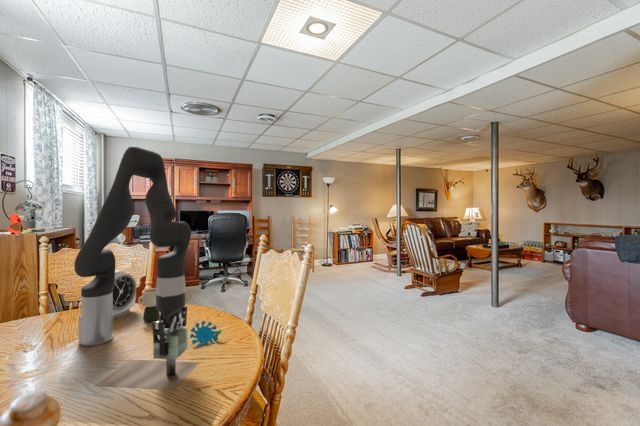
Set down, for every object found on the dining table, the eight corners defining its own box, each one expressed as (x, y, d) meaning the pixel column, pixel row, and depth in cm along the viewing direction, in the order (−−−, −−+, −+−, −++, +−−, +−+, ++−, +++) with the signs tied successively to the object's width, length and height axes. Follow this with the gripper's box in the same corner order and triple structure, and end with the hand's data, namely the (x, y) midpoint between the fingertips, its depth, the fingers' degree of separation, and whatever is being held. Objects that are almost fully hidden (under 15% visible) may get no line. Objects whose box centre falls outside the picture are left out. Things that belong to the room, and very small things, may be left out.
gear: (191, 348, 102) (189, 320, 108) (187, 356, 105) (185, 329, 111) (224, 344, 108) (220, 318, 114) (218, 352, 111) (215, 326, 118)
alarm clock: (105, 324, 126) (105, 275, 126) (88, 322, 128) (88, 274, 127) (138, 310, 144) (138, 267, 143) (123, 308, 145) (122, 266, 145)
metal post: (164, 376, 86) (164, 347, 86) (169, 371, 88) (169, 343, 88) (172, 376, 86) (172, 348, 86) (177, 372, 88) (177, 344, 88)
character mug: (160, 314, 138) (160, 286, 138) (168, 318, 134) (168, 288, 133) (134, 322, 129) (134, 291, 129) (142, 326, 125) (142, 294, 125)
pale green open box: (153, 358, 84) (153, 337, 84) (166, 347, 90) (166, 327, 90) (175, 359, 84) (175, 337, 84) (187, 348, 90) (187, 328, 90)
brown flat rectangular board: (95, 390, 81) (95, 385, 81) (131, 363, 95) (131, 359, 95) (174, 394, 80) (174, 389, 80) (199, 366, 94) (199, 362, 94)
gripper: (172, 284, 94) (172, 338, 94) (141, 298, 80) (142, 361, 80) (195, 285, 94) (195, 339, 94) (169, 299, 79) (169, 362, 80)
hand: (171, 349), depth 87 cm, fingers closed on pale green open box, 6 cm apart
